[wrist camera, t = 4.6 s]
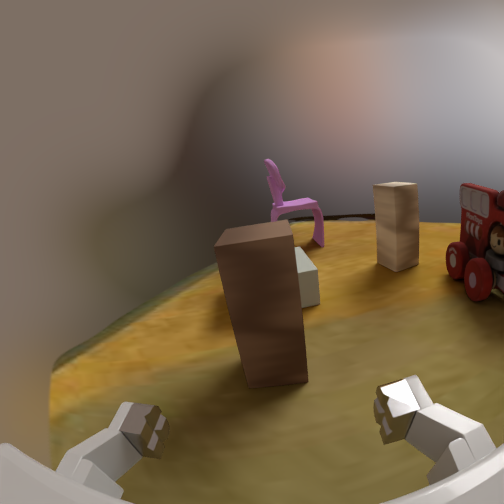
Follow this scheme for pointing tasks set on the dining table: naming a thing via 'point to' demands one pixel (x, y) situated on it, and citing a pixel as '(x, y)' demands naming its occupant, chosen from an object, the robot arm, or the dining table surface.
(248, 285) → the walnut block
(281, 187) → the toy chair
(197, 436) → the dining table surface
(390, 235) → the maple block
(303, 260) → the pedestal block
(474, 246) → the toy fire truck
